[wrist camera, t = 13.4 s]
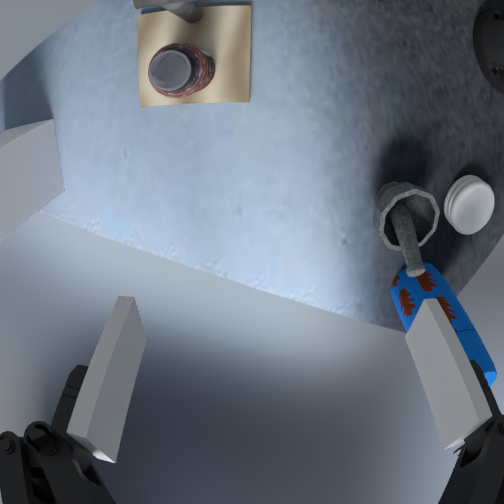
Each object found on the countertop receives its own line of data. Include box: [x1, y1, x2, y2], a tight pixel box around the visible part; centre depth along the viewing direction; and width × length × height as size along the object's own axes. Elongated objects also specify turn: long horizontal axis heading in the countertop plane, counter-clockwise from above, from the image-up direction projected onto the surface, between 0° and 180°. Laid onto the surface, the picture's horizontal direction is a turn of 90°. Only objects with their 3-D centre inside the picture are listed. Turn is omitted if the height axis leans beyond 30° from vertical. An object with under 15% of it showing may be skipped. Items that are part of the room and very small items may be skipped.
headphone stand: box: [133, 0, 252, 107], centre depth 26 cm, size 14×13×13 cm
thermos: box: [391, 262, 497, 386], centre depth 42 cm, size 11×11×25 cm
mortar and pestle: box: [374, 181, 440, 277], centre depth 38 cm, size 11×9×12 cm
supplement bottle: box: [148, 43, 215, 98], centre depth 27 cm, size 6×6×11 cm
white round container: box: [444, 175, 494, 235], centre depth 41 cm, size 10×10×4 cm
